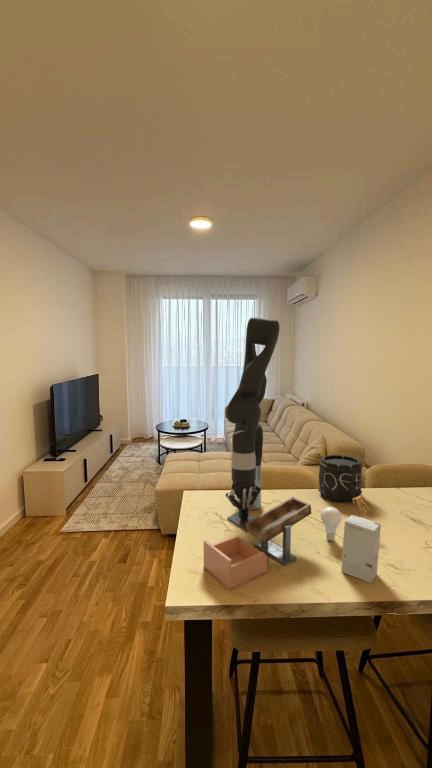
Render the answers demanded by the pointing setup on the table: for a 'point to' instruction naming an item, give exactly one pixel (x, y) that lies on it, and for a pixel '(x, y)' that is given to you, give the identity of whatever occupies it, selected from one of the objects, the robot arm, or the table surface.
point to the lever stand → (279, 548)
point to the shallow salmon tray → (234, 561)
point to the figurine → (361, 506)
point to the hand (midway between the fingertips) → (243, 519)
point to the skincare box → (361, 548)
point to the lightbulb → (330, 521)
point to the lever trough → (273, 519)
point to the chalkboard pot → (340, 478)
